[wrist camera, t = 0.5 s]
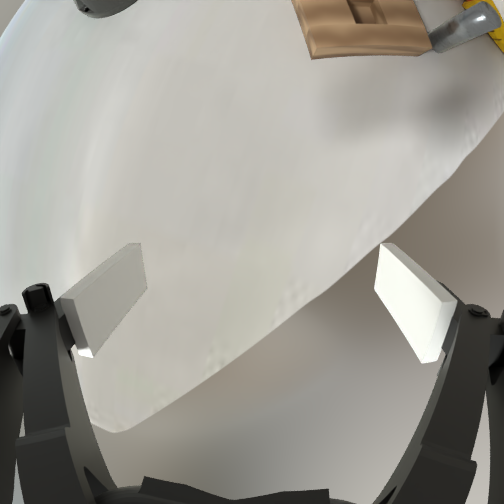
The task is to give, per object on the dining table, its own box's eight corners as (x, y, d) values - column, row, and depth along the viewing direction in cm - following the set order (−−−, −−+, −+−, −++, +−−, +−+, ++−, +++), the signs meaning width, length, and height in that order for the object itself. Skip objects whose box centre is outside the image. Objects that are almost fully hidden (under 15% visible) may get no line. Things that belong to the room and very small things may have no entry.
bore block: (290, -3, 30) (292, -19, 25) (394, -4, 27) (405, -16, 23) (311, 59, 33) (316, 47, 28) (417, 56, 31) (432, 48, 26)
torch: (490, 61, 31) (417, -39, 23) (513, 50, 26) (442, -50, 17) (507, 66, 25) (425, -49, 17) (531, 54, 20) (453, -60, 12)
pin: (422, 31, 29) (474, -3, 14) (440, 33, 29) (494, 5, 13) (430, 52, 30) (487, 24, 15) (447, 54, 30) (505, 30, 15)
